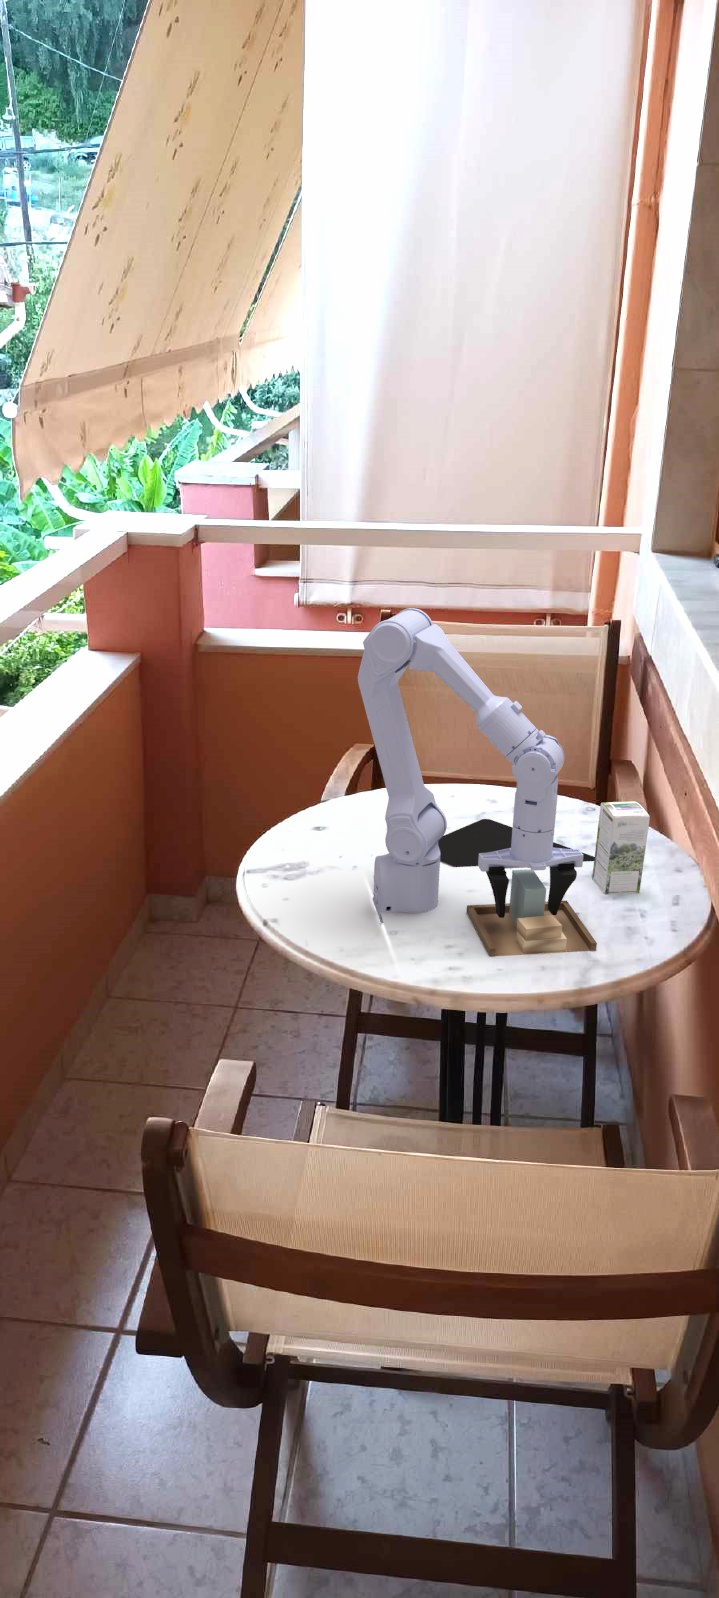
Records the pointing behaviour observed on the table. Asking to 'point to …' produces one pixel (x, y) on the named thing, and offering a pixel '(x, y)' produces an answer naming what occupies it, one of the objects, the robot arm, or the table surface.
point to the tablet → (479, 843)
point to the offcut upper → (539, 927)
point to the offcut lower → (542, 944)
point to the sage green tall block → (526, 895)
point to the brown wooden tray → (503, 931)
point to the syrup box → (620, 847)
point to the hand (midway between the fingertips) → (526, 913)
